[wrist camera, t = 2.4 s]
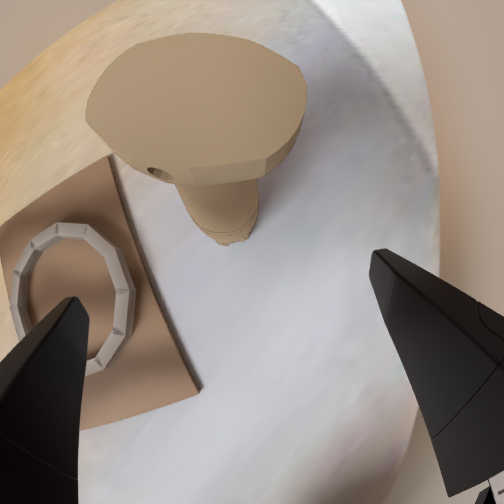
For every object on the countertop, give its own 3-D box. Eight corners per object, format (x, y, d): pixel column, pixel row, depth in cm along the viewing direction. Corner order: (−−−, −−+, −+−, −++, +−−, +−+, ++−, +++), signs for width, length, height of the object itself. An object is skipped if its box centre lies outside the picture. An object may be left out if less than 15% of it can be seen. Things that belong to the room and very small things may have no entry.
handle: (200, 183, 23) (135, 30, 8) (282, 207, 22) (321, 55, 8) (177, 243, 22) (60, 142, 7) (263, 270, 22) (278, 194, 7)
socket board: (199, 392, 20) (195, 399, 18) (62, 433, 19) (52, 439, 18) (109, 158, 23) (100, 148, 22) (-1, 230, 22) (-12, 226, 21)
